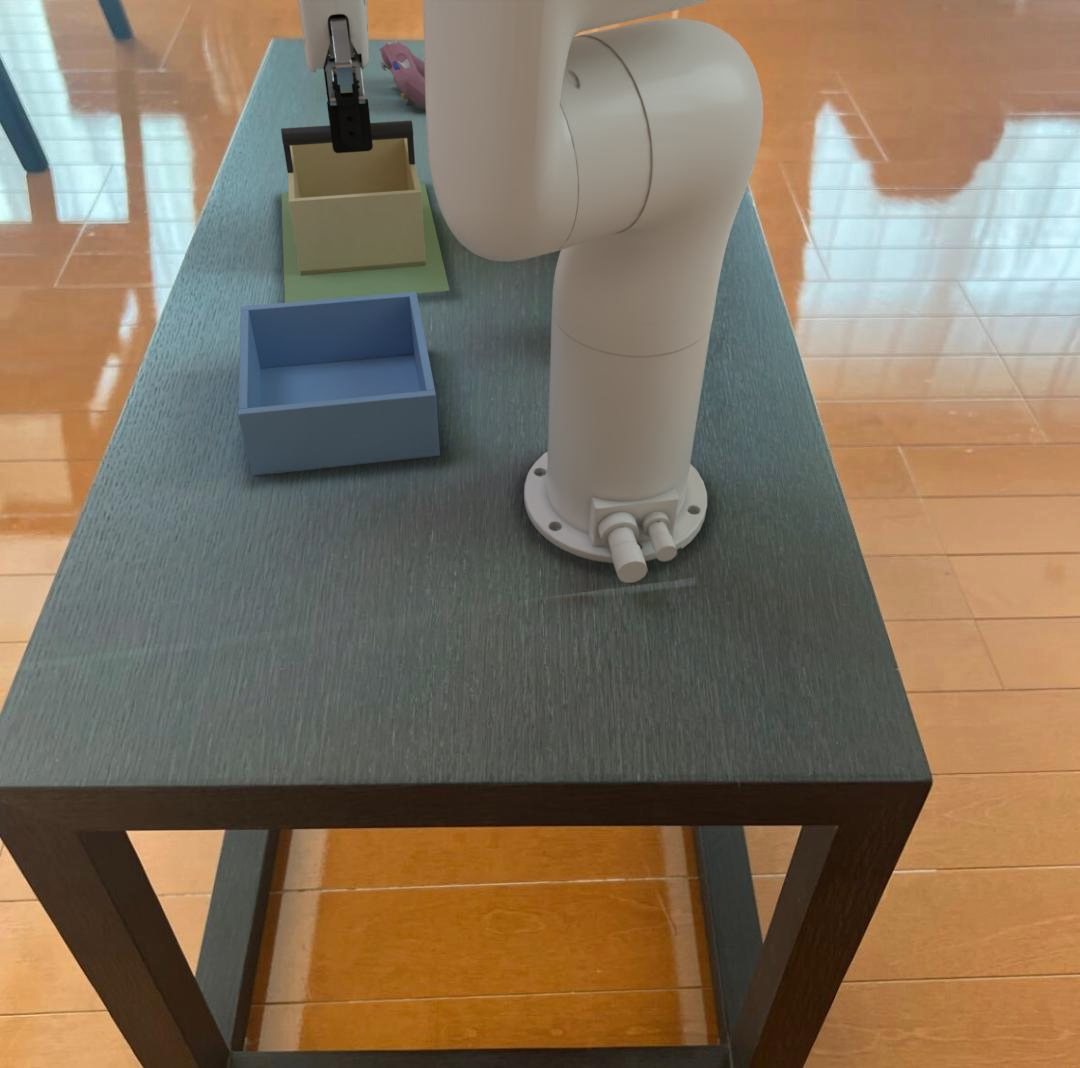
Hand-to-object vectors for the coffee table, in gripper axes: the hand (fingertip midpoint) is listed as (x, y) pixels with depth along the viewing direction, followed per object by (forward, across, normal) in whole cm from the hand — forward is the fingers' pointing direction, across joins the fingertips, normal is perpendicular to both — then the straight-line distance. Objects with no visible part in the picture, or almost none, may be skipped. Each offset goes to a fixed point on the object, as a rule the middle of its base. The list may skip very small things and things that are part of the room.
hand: (349, 125), depth 91 cm
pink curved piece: (+11, -33, +8) cm, 35 cm away
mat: (+11, -1, 0) cm, 11 cm away
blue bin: (+12, +24, -3) cm, 27 cm away
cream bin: (+11, 0, 0) cm, 11 cm away
